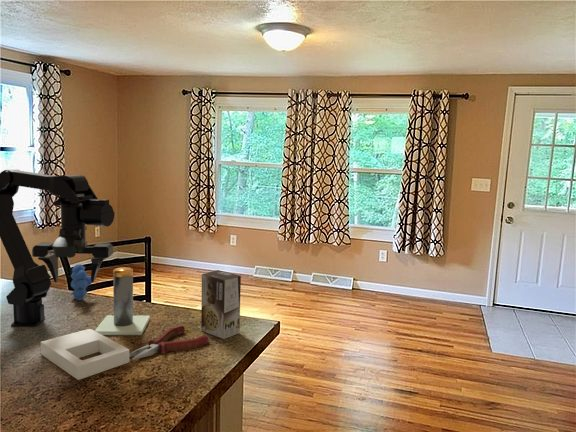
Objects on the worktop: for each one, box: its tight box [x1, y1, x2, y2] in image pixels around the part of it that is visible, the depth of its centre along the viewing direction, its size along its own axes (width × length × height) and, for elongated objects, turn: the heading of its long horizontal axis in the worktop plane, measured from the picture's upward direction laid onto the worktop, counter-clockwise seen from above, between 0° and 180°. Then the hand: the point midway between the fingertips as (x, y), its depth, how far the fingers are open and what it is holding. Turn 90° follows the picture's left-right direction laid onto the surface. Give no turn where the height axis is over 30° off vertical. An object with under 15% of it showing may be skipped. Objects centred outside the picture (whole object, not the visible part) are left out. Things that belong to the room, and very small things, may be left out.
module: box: [112, 266, 134, 326], centre depth 128 cm, size 5×5×15 cm
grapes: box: [70, 263, 92, 301], centre depth 149 cm, size 12×7×12 cm, turn 37°
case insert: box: [40, 328, 130, 381], centre depth 109 cm, size 18×12×3 cm, turn 50°
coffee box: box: [200, 269, 242, 340], centre depth 127 cm, size 9×6×16 cm
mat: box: [94, 314, 151, 336], centre depth 129 cm, size 12×12×1 cm
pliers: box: [129, 325, 209, 361], centre depth 117 cm, size 12×20×3 cm, turn 142°
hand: (74, 282), depth 124 cm, fingers open, 9 cm apart
